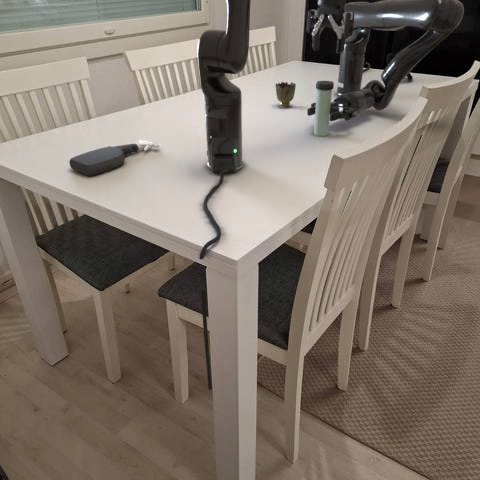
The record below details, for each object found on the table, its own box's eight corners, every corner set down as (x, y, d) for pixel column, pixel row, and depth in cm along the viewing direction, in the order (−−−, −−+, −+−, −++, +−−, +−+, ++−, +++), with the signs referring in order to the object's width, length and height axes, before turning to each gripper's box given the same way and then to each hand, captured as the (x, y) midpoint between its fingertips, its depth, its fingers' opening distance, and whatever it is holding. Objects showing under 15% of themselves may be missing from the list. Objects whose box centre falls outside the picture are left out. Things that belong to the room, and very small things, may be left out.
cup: (271, 107, 166) (272, 85, 162) (279, 102, 172) (280, 80, 168) (290, 109, 163) (291, 87, 159) (297, 104, 169) (298, 82, 165)
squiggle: (400, 92, 202) (376, 71, 205) (417, 76, 202) (392, 56, 205) (405, 81, 191) (380, 59, 194) (423, 64, 191) (397, 42, 194)
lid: (334, 86, 135) (334, 81, 134) (332, 90, 131) (332, 85, 130) (317, 85, 136) (317, 80, 135) (314, 89, 132) (315, 84, 131)
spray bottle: (67, 168, 120) (139, 144, 136) (91, 178, 114) (163, 151, 130) (65, 157, 118) (137, 134, 134) (89, 167, 112) (162, 142, 128)
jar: (328, 132, 142) (333, 82, 134) (327, 136, 138) (331, 86, 130) (314, 131, 143) (318, 82, 135) (312, 135, 139) (316, 85, 131)
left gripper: (302, -14, 121) (299, 50, 130) (348, -13, 113) (341, 56, 121) (319, -16, 126) (315, 47, 134) (363, -15, 117) (356, 52, 126)
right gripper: (333, 89, 148) (301, 98, 139) (370, 96, 139) (339, 107, 130) (331, 111, 152) (300, 122, 143) (367, 120, 143) (337, 132, 134)
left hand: (327, 51), depth 128 cm, fingers open, 7 cm apart
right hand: (319, 115), depth 136 cm, fingers open, 8 cm apart
